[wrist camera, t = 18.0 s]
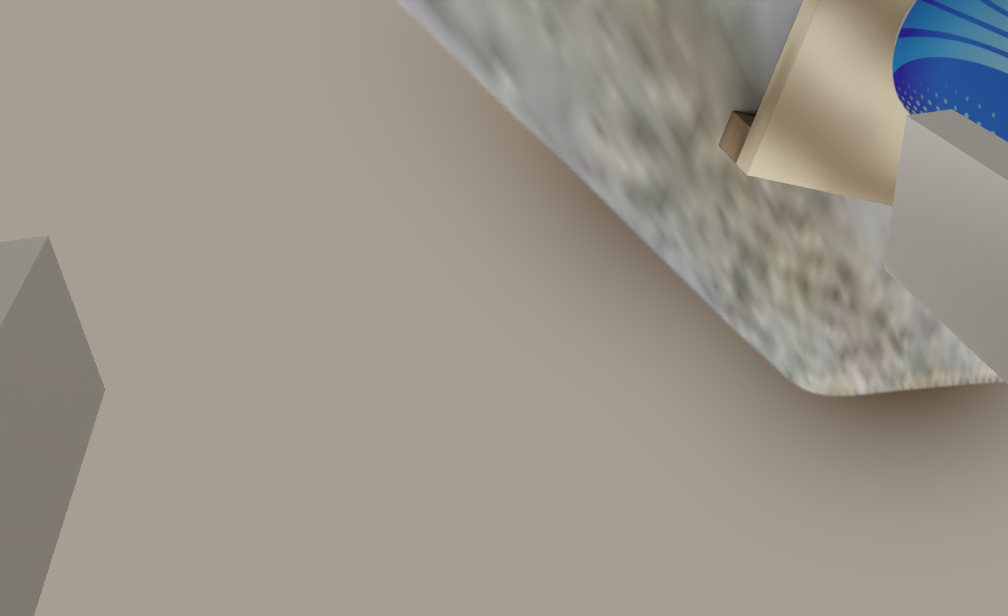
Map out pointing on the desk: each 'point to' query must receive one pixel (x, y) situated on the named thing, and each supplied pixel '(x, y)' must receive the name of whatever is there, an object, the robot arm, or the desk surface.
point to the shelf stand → (829, 104)
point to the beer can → (955, 60)
